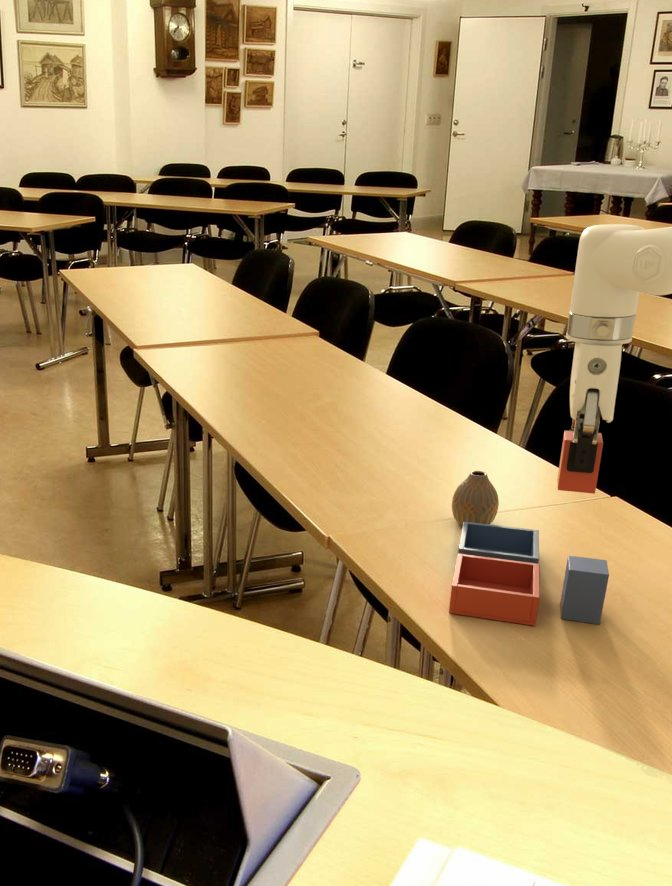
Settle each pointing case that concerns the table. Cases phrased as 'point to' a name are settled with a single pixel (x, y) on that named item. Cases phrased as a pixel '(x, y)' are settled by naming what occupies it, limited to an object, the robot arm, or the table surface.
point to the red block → (577, 479)
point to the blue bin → (500, 542)
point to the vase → (475, 500)
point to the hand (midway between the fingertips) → (579, 463)
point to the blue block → (584, 589)
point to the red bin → (495, 589)
